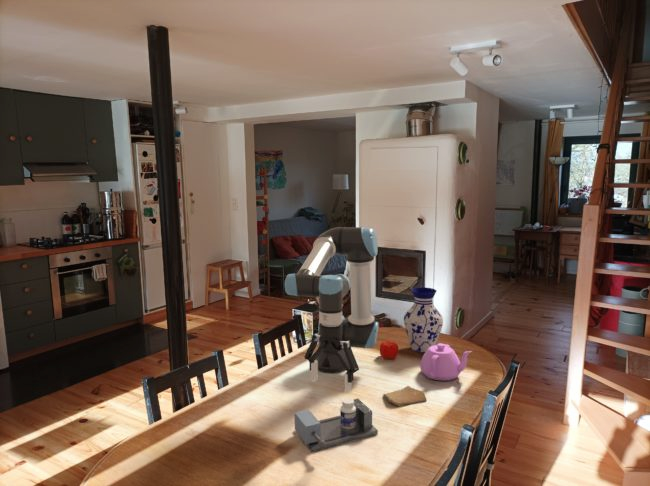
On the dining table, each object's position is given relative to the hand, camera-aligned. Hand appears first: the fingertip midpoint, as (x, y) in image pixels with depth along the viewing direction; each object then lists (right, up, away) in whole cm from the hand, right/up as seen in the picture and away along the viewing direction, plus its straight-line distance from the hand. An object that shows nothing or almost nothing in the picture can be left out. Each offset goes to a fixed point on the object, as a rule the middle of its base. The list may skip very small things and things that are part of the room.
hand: (330, 385), depth 155 cm
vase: (+46, -6, +78) cm, 91 cm away
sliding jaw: (-6, -16, -4) cm, 18 cm away
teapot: (+50, -10, +47) cm, 69 cm away
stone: (+29, -14, +27) cm, 42 cm away
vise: (+2, -17, +4) cm, 17 cm away
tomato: (+28, -8, +68) cm, 74 cm away
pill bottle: (+6, -15, +5) cm, 17 cm away
